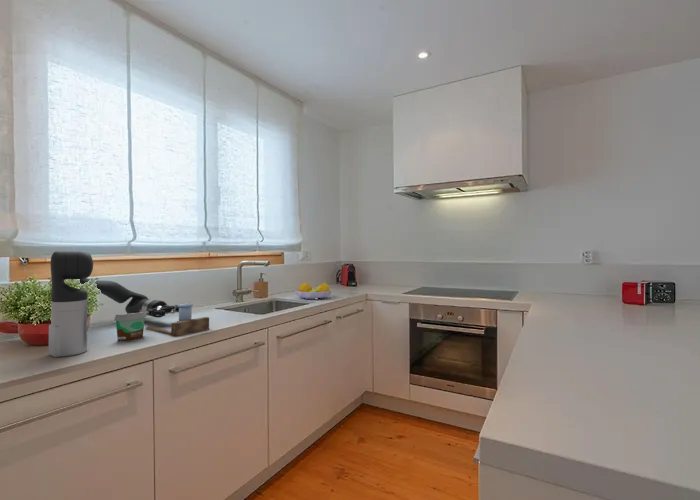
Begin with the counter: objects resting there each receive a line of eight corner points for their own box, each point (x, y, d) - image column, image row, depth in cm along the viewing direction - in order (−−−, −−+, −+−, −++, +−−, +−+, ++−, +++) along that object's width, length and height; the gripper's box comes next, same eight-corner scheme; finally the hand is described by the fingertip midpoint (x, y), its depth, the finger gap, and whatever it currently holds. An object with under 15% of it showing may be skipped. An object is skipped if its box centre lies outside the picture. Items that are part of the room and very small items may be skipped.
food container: (128, 343, 126) (128, 315, 126) (114, 342, 127) (114, 314, 127) (154, 335, 138) (154, 310, 138) (140, 334, 139) (140, 309, 139)
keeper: (182, 333, 142) (182, 306, 142) (174, 331, 145) (175, 304, 145) (195, 330, 146) (195, 304, 146) (187, 328, 149) (187, 303, 149)
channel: (174, 336, 136) (174, 323, 136) (146, 329, 148) (146, 317, 148) (209, 329, 149) (209, 317, 149) (180, 322, 161) (180, 312, 161)
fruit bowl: (309, 302, 228) (310, 284, 228) (287, 297, 248) (287, 281, 248) (342, 298, 247) (342, 282, 247) (319, 294, 267) (319, 279, 267)
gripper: (138, 301, 153) (157, 305, 144) (170, 298, 165) (189, 301, 156) (138, 318, 153) (157, 323, 144) (170, 314, 165) (189, 318, 156)
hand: (174, 312), depth 150 cm, fingers open, 8 cm apart
